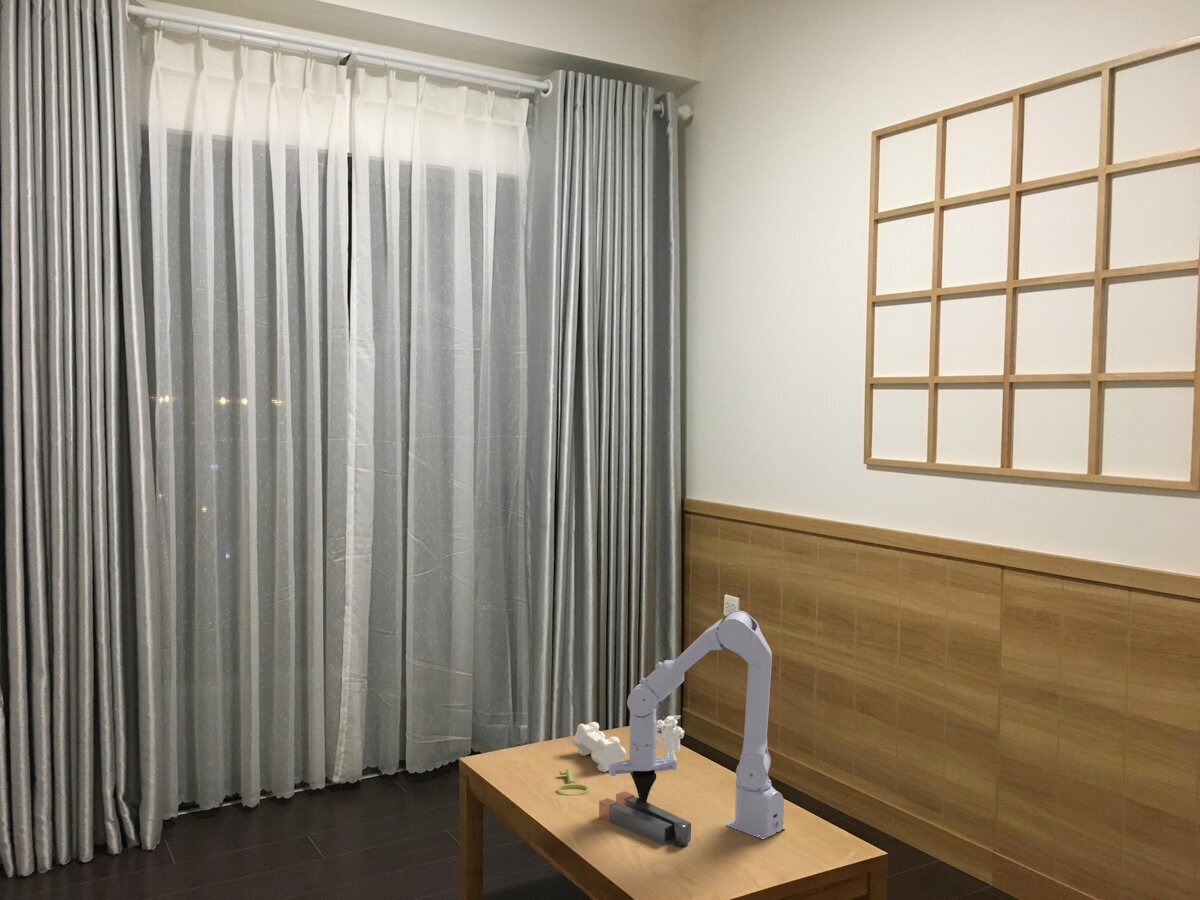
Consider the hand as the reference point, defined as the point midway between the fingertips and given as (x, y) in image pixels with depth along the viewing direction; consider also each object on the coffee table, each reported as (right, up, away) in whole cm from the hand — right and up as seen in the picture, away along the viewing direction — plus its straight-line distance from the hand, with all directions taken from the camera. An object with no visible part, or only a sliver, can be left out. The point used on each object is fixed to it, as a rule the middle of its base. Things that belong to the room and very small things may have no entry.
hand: (642, 804), depth 205 cm
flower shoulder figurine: (+8, -1, +31) cm, 32 cm away
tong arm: (+2, -2, -7) cm, 7 cm away
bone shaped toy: (-9, -1, +30) cm, 31 cm away
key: (-16, -2, +14) cm, 21 cm away
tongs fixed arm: (-2, -2, -8) cm, 8 cm away
